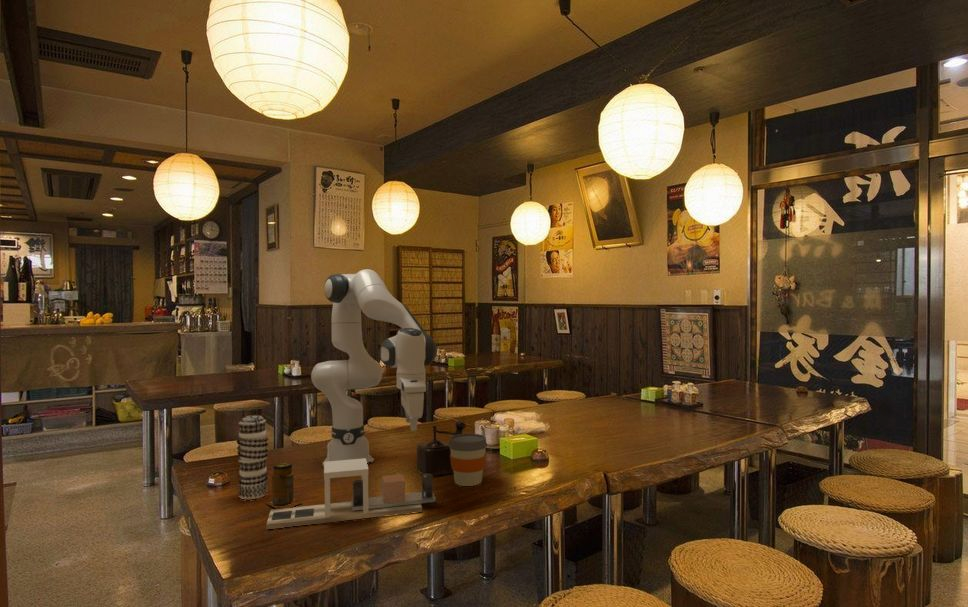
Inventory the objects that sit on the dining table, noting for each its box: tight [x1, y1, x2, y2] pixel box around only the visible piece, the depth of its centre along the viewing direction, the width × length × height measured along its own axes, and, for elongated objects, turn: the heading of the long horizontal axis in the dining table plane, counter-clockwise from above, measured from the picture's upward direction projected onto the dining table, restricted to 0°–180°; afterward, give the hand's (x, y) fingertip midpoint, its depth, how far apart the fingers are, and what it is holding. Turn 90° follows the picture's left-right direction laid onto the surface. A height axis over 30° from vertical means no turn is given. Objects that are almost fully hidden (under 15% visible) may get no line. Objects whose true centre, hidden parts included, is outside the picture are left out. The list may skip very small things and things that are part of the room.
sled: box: [350, 474, 437, 511], centre depth 163 cm, size 7×24×7 cm, turn 105°
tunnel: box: [323, 458, 370, 518], centre depth 159 cm, size 11×12×12 cm
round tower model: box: [236, 414, 269, 500], centre depth 175 cm, size 9×9×25 cm
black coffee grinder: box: [416, 420, 467, 477], centre depth 198 cm, size 16×11×18 cm
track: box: [265, 501, 423, 531], centre depth 159 cm, size 11×42×2 cm, turn 105°
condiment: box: [271, 462, 295, 506], centre depth 167 cm, size 7×8×12 cm
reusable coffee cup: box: [448, 433, 487, 486], centre depth 185 cm, size 12×13×15 cm
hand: (411, 426), depth 170 cm, fingers open, 8 cm apart
